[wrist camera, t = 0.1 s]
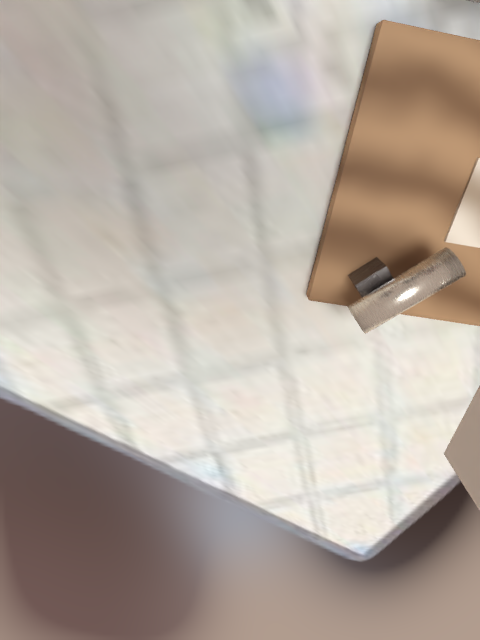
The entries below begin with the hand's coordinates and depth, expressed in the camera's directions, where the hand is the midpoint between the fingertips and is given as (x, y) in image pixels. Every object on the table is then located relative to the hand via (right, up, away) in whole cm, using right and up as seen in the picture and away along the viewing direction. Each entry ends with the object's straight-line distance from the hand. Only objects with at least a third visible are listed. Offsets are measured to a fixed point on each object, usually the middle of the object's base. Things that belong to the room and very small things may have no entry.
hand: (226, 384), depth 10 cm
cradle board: (+23, +12, +26) cm, 36 cm away
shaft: (+14, +6, +27) cm, 31 cm away
